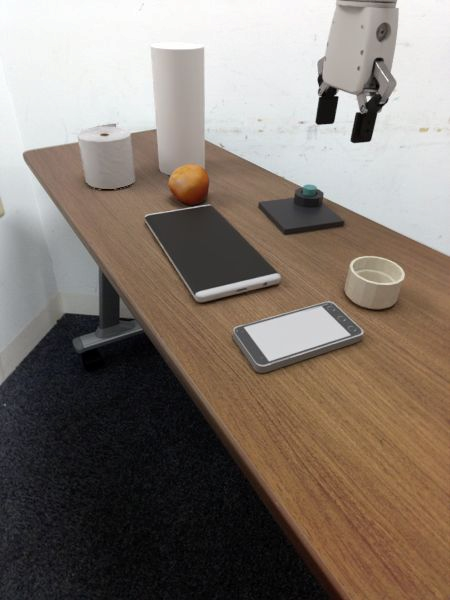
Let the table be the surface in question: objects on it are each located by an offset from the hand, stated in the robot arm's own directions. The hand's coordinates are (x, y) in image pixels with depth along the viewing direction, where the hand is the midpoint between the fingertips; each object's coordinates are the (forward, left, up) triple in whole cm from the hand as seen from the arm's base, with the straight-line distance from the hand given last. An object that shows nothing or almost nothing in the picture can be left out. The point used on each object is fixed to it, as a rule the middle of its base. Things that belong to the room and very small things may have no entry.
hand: (341, 132), depth 64 cm
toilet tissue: (+32, -36, -18) cm, 52 cm away
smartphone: (+16, +23, -18) cm, 33 cm away
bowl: (+2, +18, -18) cm, 25 cm away
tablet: (+21, -1, -18) cm, 28 cm away
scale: (0, -8, -18) cm, 20 cm away
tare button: (-3, -12, -15) cm, 19 cm away
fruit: (+18, -21, -18) cm, 33 cm away
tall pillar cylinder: (+15, -39, -18) cm, 46 cm away
